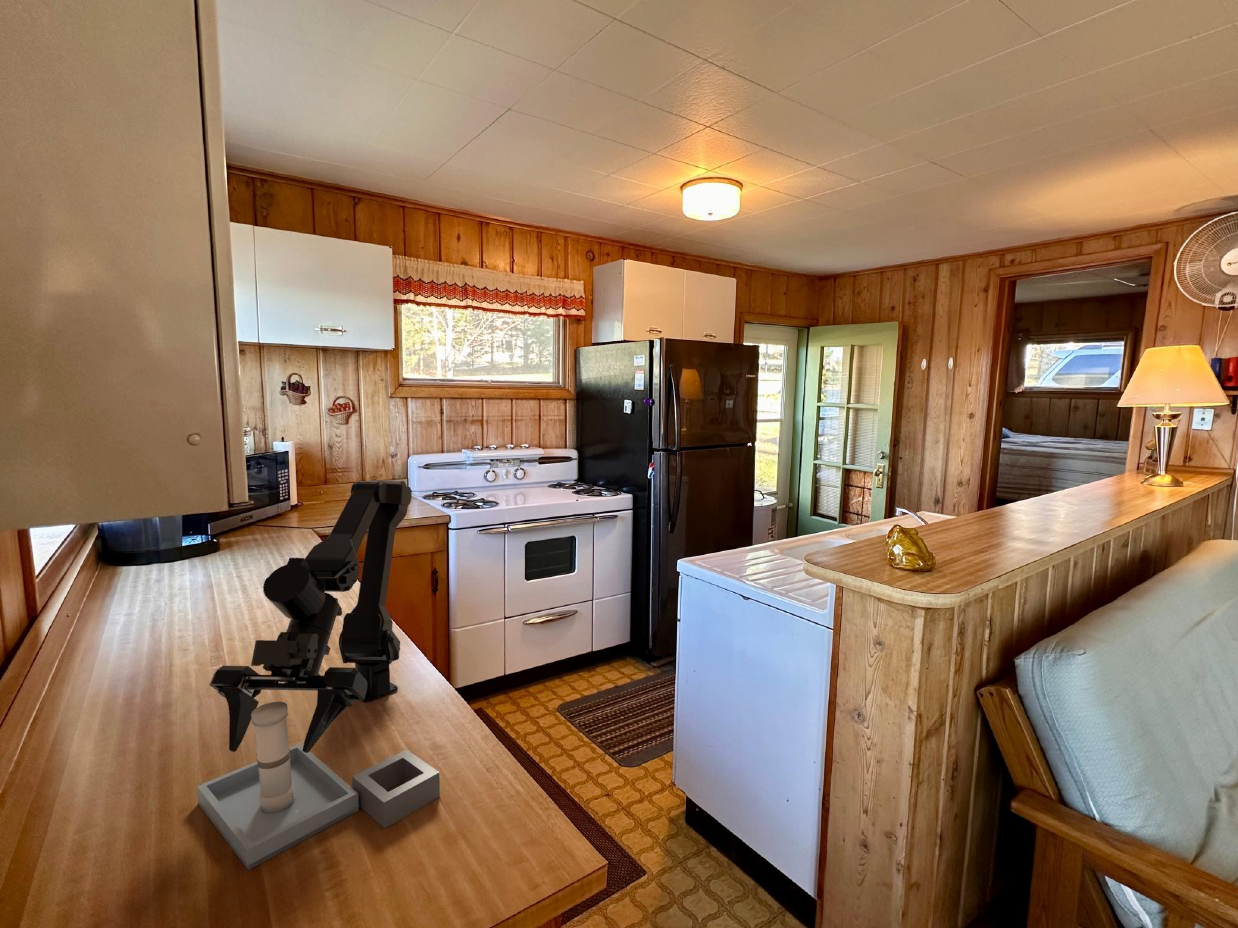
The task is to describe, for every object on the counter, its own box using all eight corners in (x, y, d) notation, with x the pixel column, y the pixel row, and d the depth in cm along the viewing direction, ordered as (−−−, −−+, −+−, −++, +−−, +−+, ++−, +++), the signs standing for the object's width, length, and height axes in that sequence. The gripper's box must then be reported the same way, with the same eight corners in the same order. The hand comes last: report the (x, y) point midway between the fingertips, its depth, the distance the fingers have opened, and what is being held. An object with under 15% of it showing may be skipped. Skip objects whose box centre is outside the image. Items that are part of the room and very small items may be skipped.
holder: (352, 800, 81) (352, 775, 81) (407, 771, 87) (406, 749, 87) (384, 828, 76) (383, 802, 76) (439, 796, 82) (439, 772, 82)
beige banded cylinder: (262, 796, 80) (253, 705, 78) (296, 788, 82) (288, 699, 80) (258, 816, 77) (249, 721, 75) (293, 807, 78) (285, 714, 76)
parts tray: (198, 803, 80) (196, 785, 79) (300, 758, 90) (300, 742, 89) (248, 869, 69) (247, 849, 69) (358, 810, 79) (358, 792, 79)
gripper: (214, 608, 80) (157, 733, 71) (356, 610, 80) (319, 736, 71) (252, 640, 89) (207, 756, 79) (380, 642, 89) (350, 758, 79)
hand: (268, 751), depth 77 cm, fingers open, 9 cm apart
